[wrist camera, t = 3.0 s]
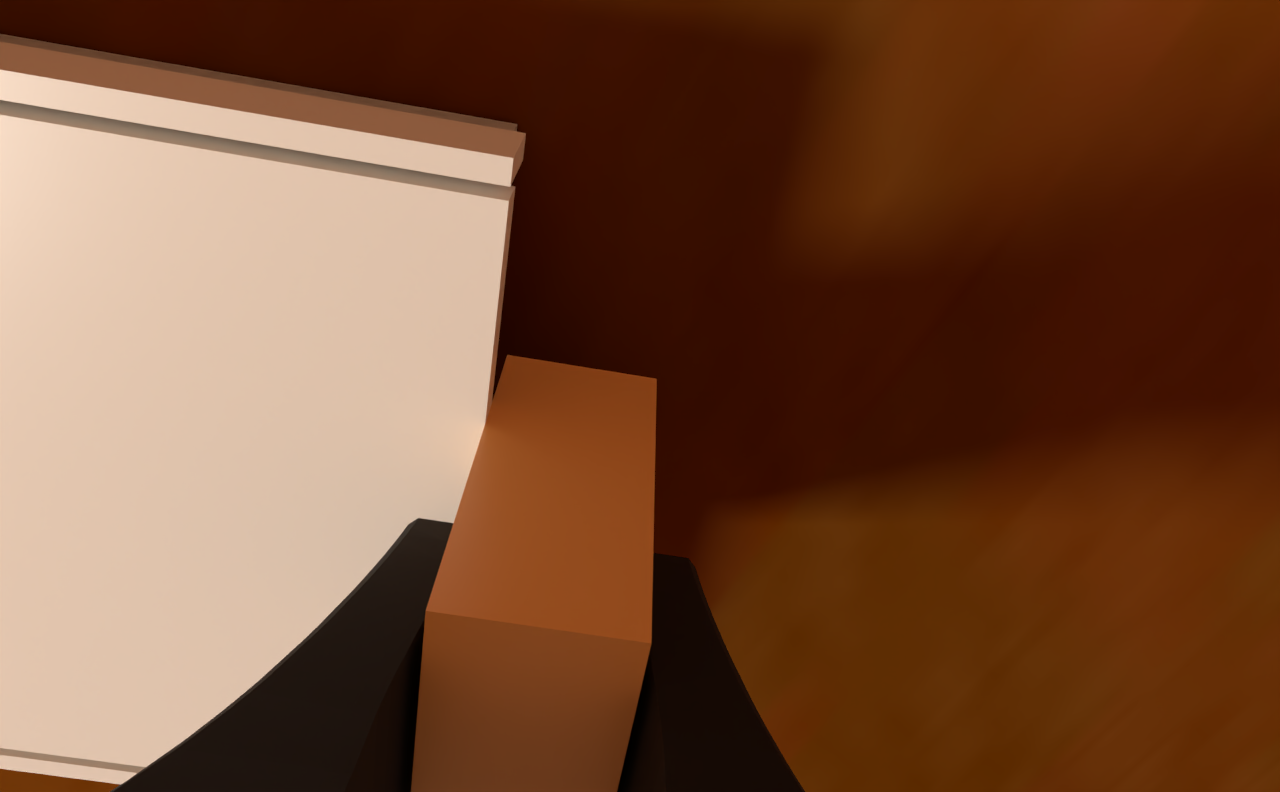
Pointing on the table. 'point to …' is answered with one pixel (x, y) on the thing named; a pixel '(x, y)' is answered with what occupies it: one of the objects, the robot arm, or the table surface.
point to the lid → (293, 429)
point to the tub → (257, 82)
